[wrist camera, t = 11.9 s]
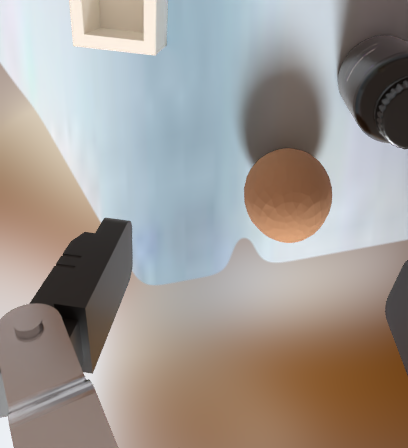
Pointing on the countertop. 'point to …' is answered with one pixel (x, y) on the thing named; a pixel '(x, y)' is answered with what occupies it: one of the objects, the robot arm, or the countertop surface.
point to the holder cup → (120, 25)
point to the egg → (288, 195)
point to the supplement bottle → (378, 88)
